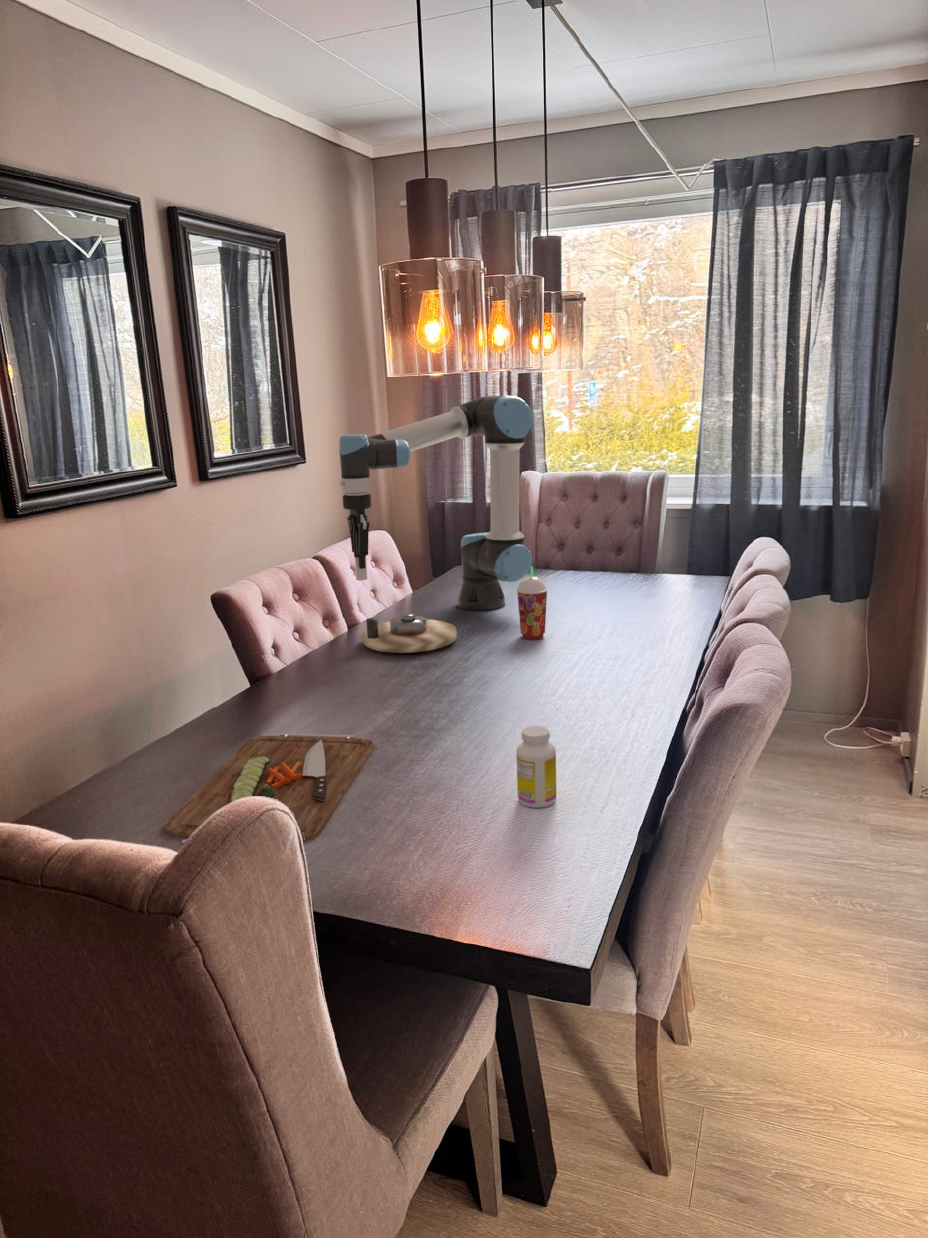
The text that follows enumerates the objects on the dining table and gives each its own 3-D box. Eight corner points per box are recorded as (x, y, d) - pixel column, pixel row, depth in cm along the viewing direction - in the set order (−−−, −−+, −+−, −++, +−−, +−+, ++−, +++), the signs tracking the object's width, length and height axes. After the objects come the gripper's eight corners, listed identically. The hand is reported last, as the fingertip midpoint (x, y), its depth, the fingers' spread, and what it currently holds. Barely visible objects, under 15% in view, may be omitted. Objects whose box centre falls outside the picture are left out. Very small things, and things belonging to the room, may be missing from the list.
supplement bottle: (553, 790, 156) (553, 722, 153) (558, 808, 150) (558, 737, 146) (515, 792, 156) (514, 724, 153) (519, 810, 150) (517, 739, 146)
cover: (419, 624, 253) (418, 608, 252) (431, 632, 244) (431, 616, 243) (385, 628, 249) (384, 613, 248) (397, 637, 240) (396, 621, 239)
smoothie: (548, 632, 251) (547, 563, 246) (547, 641, 243) (547, 569, 238) (518, 632, 252) (517, 563, 247) (517, 641, 244) (515, 570, 239)
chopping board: (257, 736, 187) (255, 722, 186) (381, 740, 182) (380, 726, 181) (150, 845, 144) (148, 828, 143) (309, 853, 139) (308, 836, 139)
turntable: (436, 621, 263) (435, 598, 261) (471, 643, 239) (470, 618, 238) (351, 633, 253) (349, 609, 251) (379, 658, 230) (377, 632, 228)
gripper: (336, 491, 243) (342, 576, 249) (349, 497, 231) (355, 585, 237) (363, 489, 245) (368, 573, 252) (377, 494, 234) (381, 582, 240)
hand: (361, 579), depth 244 cm, fingers closed
